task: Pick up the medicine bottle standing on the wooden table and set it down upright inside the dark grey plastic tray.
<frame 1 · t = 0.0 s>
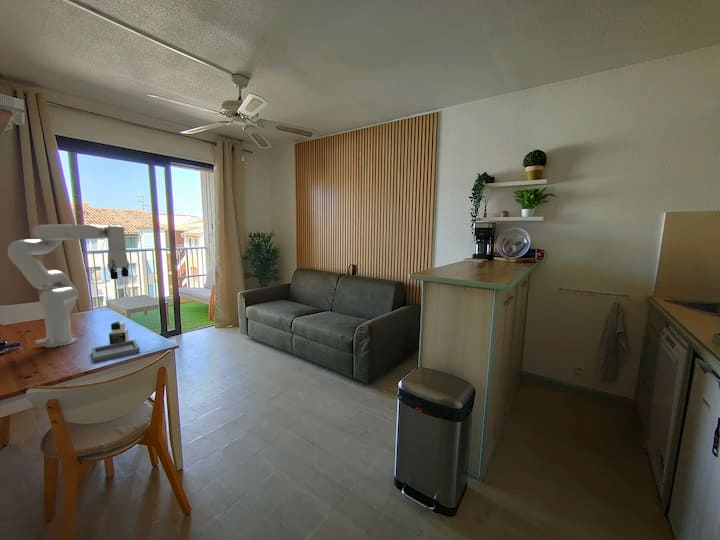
hand: (119, 277, 164), 37 cm above the table, tool pointing down, fingers open, 9 cm apart
grey tray: (116, 352, 152), on the table
medicine bottle: (119, 343, 165), on the table
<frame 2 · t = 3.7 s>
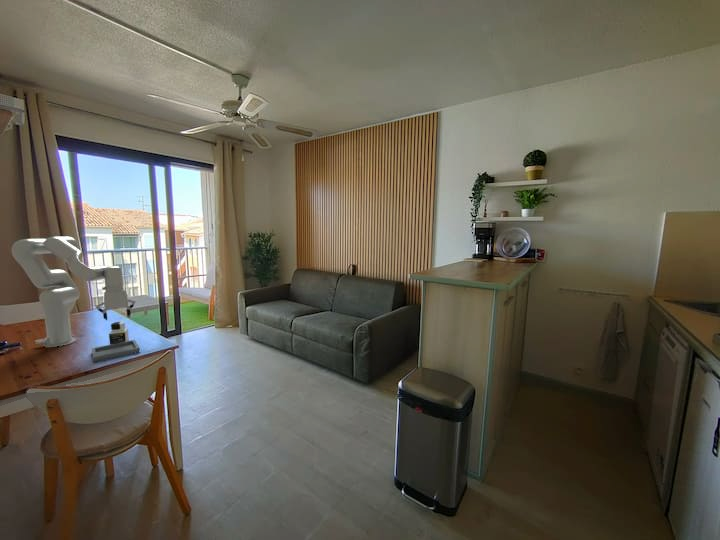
hand: (117, 317, 163), 15 cm above the table, tool pointing down, fingers open, 9 cm apart
nothing on the table moved.
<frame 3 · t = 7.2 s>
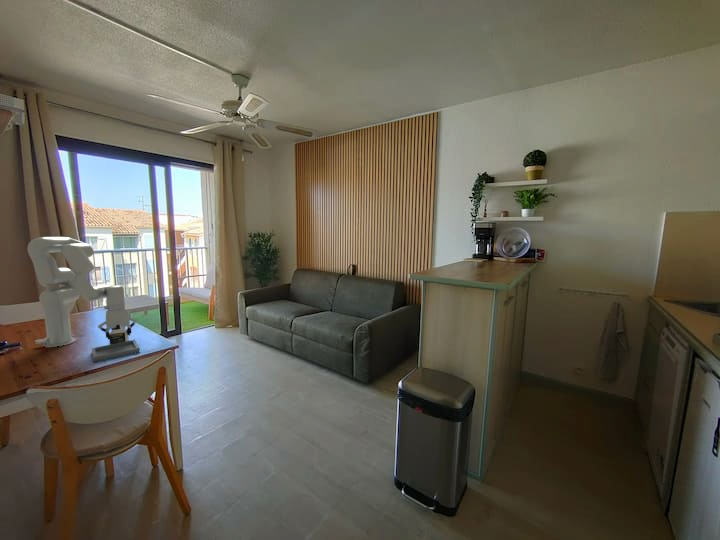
hand: (119, 336, 165), 4 cm above the table, tool pointing down, fingers closed on medicine bottle, 8 cm apart
medicine bottle: (119, 343, 165), on the table, touching gripper
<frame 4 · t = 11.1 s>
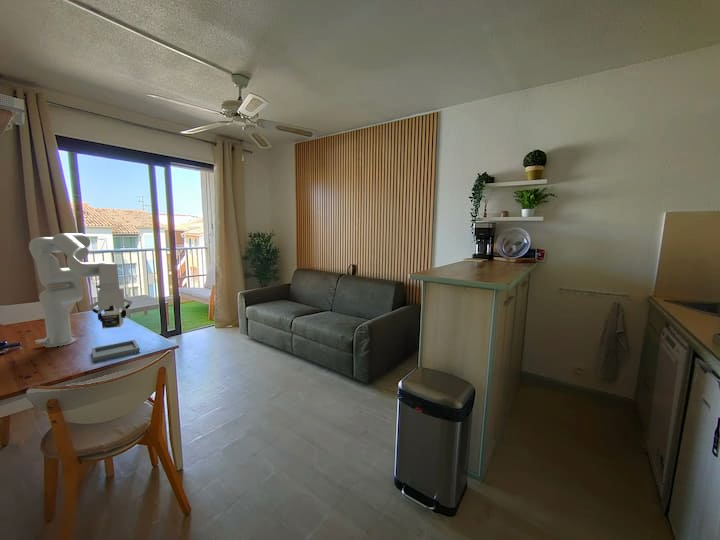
hand: (112, 319, 150), 18 cm above the table, tool pointing down, fingers closed on medicine bottle, 8 cm apart
medicine bottle: (113, 326, 150), point 14 cm above the table, touching gripper
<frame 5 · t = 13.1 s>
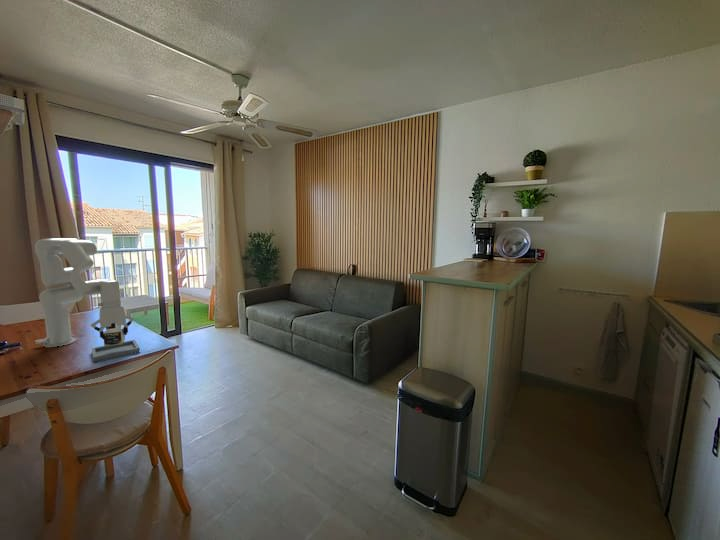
hand: (114, 336, 151), 9 cm above the table, tool pointing down, fingers closed on medicine bottle, 8 cm apart
medicine bottle: (115, 343, 151), point 5 cm above the table, touching gripper
when the fingers open (5 cm above the table, at t = 14.9 s): medicine bottle stays where it is, resting on grey tray.
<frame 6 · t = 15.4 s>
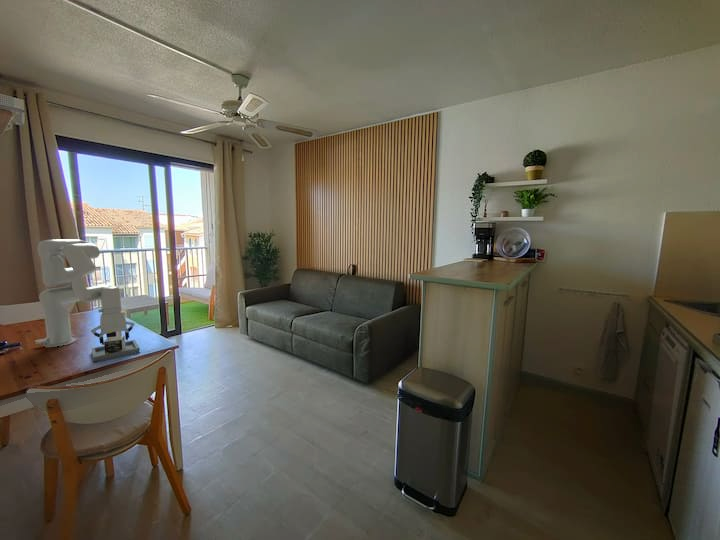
hand: (115, 341, 151), 6 cm above the table, tool pointing down, fingers open, 9 cm apart
medicine bottle: (115, 351, 152), point 1 cm above the table, touching grey tray
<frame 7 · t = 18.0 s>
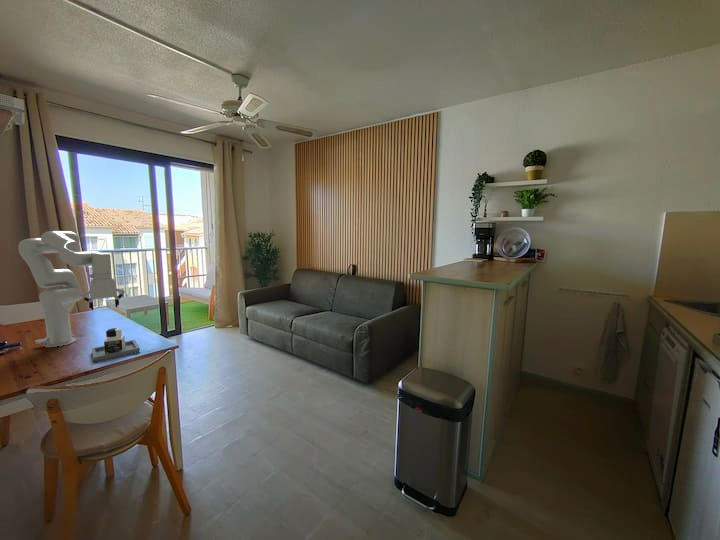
hand: (104, 308, 153), 23 cm above the table, tool pointing down, fingers open, 9 cm apart
nothing on the table moved.
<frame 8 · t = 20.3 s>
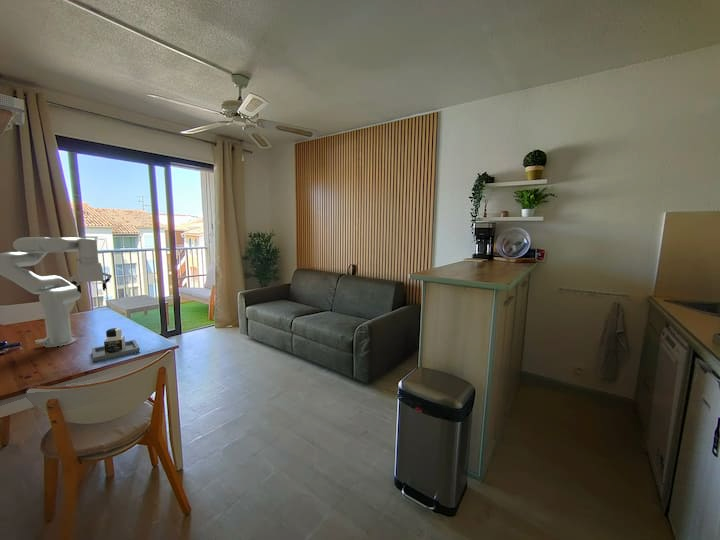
hand: (92, 291, 159), 30 cm above the table, tool pointing down, fingers open, 9 cm apart
nothing on the table moved.
at the end: medicine bottle inside the target area on the grey tray (0.2 cm from its centre), point 0.6 cm above the grey tray's base; medicine bottle tilted 0°; the gripper is holding nothing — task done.
